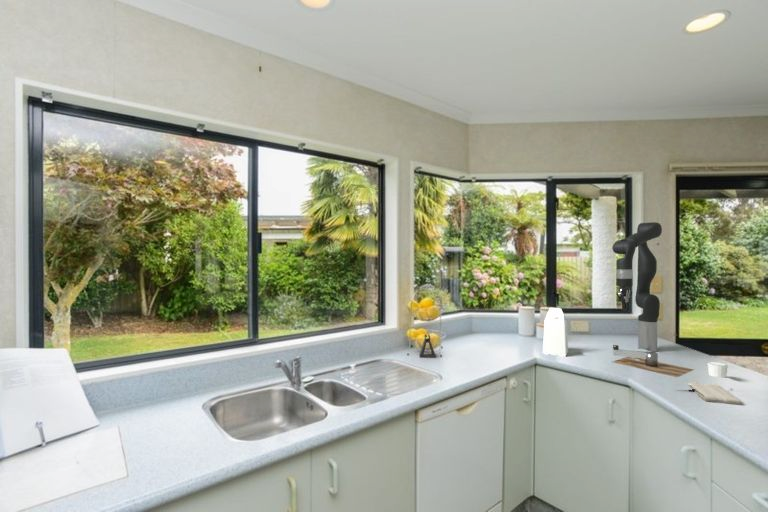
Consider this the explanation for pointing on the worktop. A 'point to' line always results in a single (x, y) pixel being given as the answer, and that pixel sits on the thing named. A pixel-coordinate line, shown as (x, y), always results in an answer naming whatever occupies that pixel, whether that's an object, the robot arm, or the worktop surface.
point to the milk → (555, 333)
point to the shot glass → (717, 369)
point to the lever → (637, 355)
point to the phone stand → (424, 349)
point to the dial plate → (661, 367)
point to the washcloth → (714, 393)
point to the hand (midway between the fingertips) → (624, 309)
